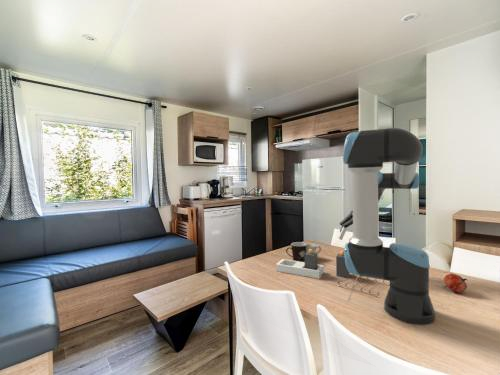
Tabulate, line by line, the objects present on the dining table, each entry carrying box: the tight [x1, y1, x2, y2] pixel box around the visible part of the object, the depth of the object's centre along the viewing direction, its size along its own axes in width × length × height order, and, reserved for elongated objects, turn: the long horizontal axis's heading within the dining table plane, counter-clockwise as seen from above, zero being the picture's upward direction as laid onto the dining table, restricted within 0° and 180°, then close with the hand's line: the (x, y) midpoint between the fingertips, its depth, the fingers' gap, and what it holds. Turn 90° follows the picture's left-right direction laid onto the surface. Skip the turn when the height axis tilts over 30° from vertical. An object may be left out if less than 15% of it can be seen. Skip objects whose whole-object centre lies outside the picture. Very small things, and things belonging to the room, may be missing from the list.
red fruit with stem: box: [443, 273, 468, 294], centre depth 104 cm, size 7×7×10 cm
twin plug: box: [304, 249, 319, 270], centre depth 124 cm, size 5×5×12 cm
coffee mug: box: [285, 241, 308, 262], centre depth 144 cm, size 12×9×10 cm
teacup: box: [306, 243, 322, 255], centre depth 148 cm, size 14×11×8 cm
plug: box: [335, 250, 350, 279], centre depth 122 cm, size 5×5×12 cm
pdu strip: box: [275, 258, 325, 280], centre depth 128 cm, size 9×22×4 cm, turn 60°
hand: (351, 242), depth 125 cm, fingers open, 13 cm apart
